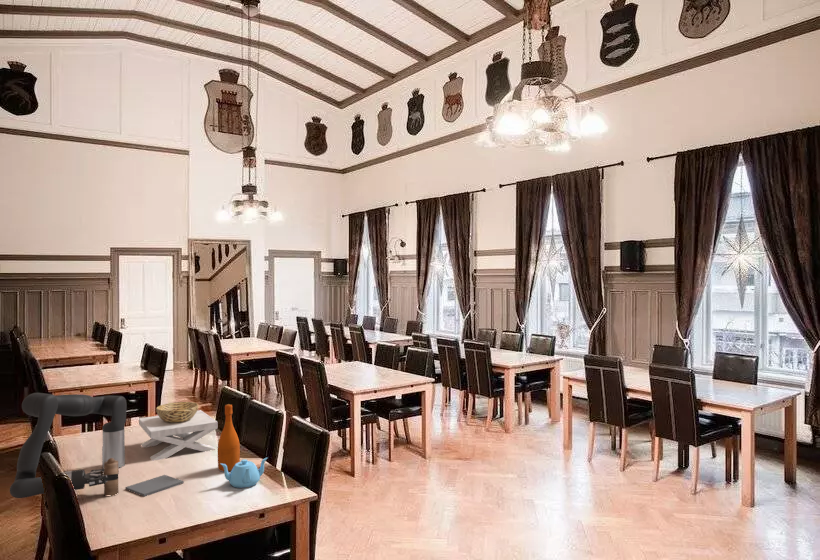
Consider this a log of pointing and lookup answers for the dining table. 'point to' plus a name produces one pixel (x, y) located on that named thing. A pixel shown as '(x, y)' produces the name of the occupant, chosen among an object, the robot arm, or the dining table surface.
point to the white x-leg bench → (177, 428)
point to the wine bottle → (228, 443)
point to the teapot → (244, 473)
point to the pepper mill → (110, 469)
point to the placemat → (154, 485)
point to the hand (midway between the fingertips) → (118, 474)
